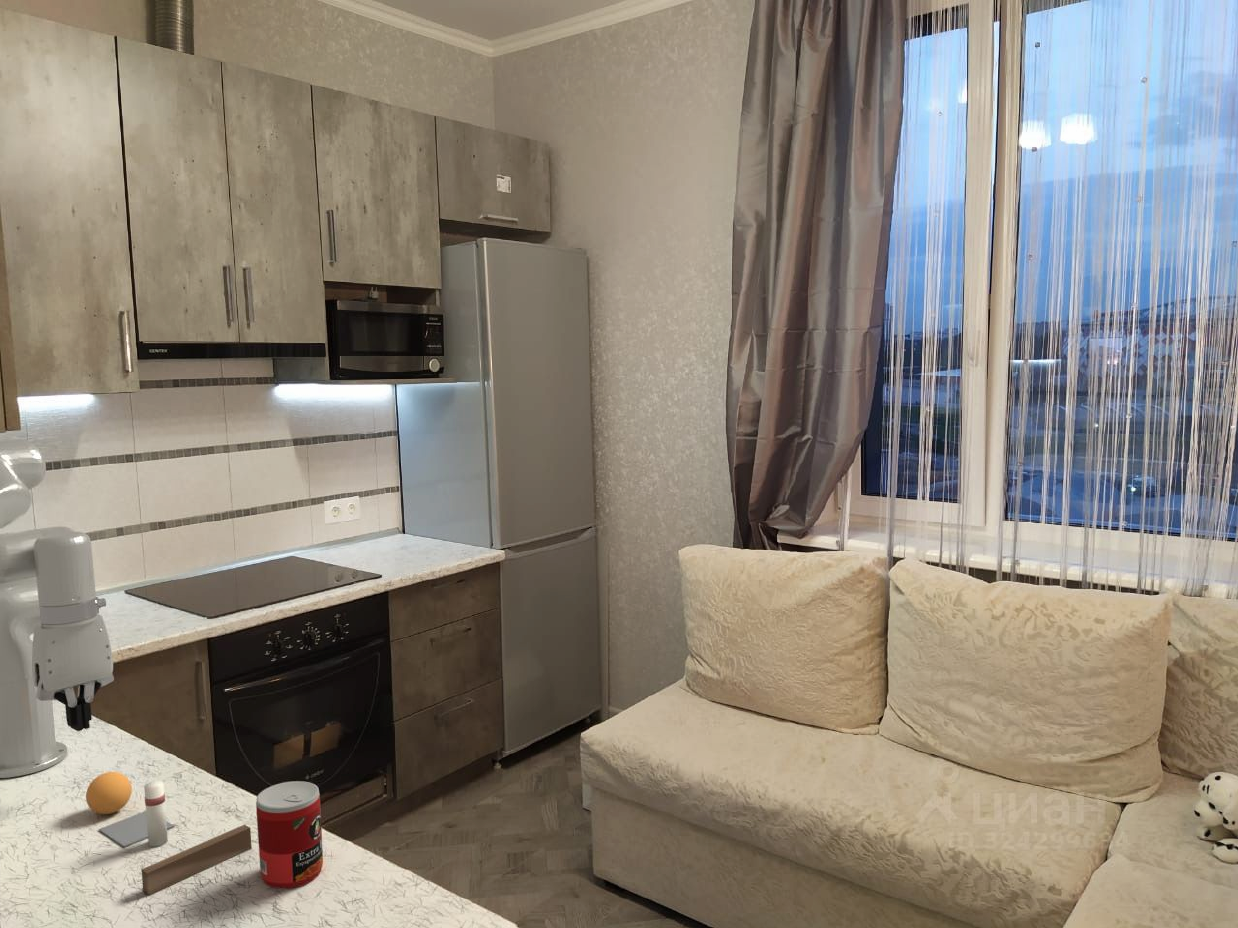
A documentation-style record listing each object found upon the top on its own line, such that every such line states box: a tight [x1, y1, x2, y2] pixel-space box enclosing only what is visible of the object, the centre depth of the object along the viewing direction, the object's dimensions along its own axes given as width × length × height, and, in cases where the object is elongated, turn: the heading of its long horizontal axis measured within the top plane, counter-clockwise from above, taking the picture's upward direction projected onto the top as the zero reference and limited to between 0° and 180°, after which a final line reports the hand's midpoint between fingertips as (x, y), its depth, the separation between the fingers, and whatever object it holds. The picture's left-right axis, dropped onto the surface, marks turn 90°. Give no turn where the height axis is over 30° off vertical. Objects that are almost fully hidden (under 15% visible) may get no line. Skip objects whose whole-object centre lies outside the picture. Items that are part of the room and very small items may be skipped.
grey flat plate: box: [98, 810, 175, 848], centre depth 131 cm, size 8×7×1 cm
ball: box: [85, 771, 133, 815], centre depth 136 cm, size 6×6×6 cm
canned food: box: [255, 780, 324, 890], centre depth 118 cm, size 8×8×11 cm
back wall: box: [141, 824, 253, 897], centre depth 120 cm, size 2×14×3 cm, turn 142°
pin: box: [143, 780, 169, 848], centre depth 126 cm, size 2×2×8 cm
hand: (80, 727), depth 140 cm, fingers closed
